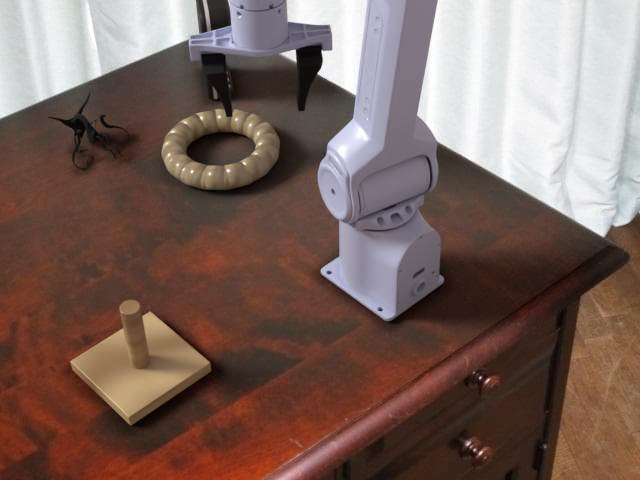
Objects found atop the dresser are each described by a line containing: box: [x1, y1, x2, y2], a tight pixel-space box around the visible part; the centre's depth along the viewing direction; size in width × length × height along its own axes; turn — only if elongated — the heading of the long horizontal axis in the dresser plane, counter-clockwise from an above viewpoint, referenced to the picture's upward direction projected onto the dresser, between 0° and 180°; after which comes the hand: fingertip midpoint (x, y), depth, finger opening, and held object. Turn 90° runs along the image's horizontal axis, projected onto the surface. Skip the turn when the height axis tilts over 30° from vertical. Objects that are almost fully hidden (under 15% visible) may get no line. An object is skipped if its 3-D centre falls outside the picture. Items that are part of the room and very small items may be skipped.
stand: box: [69, 299, 212, 426], centre depth 101 cm, size 9×9×8 cm
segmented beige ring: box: [161, 108, 281, 191], centre depth 126 cm, size 13×13×3 cm
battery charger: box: [195, 0, 234, 100], centre depth 133 cm, size 7×4×11 cm, turn 10°
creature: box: [47, 91, 130, 170], centre depth 127 cm, size 8×5×8 cm
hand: (264, 108), depth 123 cm, fingers open, 7 cm apart
